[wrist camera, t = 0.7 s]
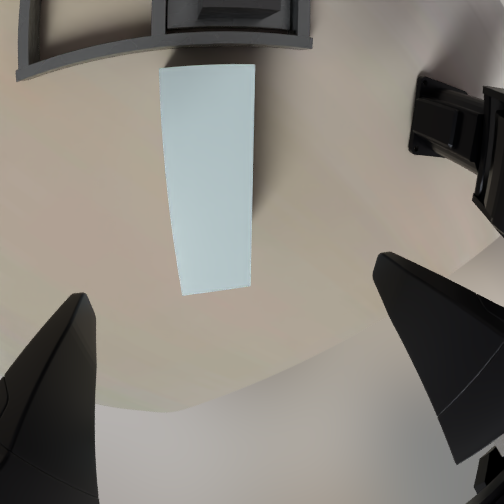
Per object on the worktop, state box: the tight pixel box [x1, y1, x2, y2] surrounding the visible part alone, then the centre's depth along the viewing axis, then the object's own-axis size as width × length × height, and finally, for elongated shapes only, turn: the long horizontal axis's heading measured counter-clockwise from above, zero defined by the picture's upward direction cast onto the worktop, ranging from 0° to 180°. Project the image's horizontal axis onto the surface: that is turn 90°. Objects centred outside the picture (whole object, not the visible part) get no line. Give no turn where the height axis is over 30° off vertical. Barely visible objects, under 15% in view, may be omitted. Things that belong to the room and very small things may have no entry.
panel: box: [159, 64, 255, 296], centre depth 16 cm, size 4×12×5 cm, turn 177°
